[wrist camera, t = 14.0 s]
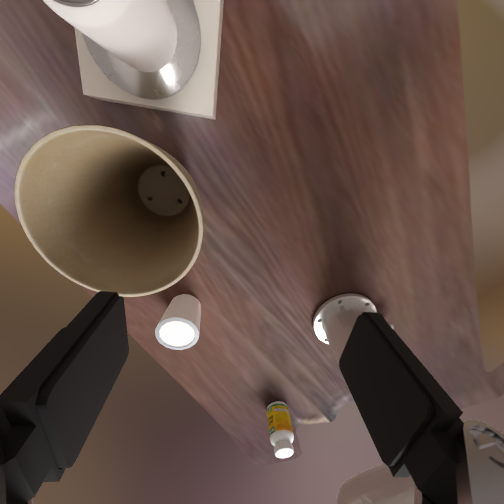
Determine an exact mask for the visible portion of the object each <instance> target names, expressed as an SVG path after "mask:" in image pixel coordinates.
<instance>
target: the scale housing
mask: <svg viewBox="0 0 504 504" xmlns="http://www.w3.org/2000/svg"><path fill="white" fill-rule="evenodd" d="M193 2H194V5H195V8H196V12H197V15H198V19H199V24H200V30H201V52H200V58H199V62H198V65H197V68H196V71H195V73H194V75H193V77H192V78H191V80H190V81H189V83H188V84H187V85H186V86H185V87H184V88H183V89H182V90H181V91H180V92H178V93H177V94H175V95H173V96H171V97H168V98H165V99H160V100H150V99H144V98H140V97H137V96H135V95H132V94H130V93H128V92H126V91H124V90H122V89H121V88H120V87H118V86H117V85H115V84H114V83H113V82H112V81H111V80H110V79H108V77H107V76H106V75H105V74H104V73H103V72H102V71H101V69H100V68H99V67H98V66H97V64H96V63H95V61H94V59H93V58H92V56H91V54H90V52H89V50H88V48H87V46H86V43H85V41H84V38H83V35H82V32H81V31H79V30H78V29H76V28H75V27H74V29H75V36H76V43H77V51H78V59H79V66H80V74H81V82H82V89H83V95H87V96H90V97H93V98H96V99H100V100H103V101H109V102H115V103H121V104H127V105H133V106H139V107H144V108H150V109H156V110H162V111H168V112H174V113H180V114H185V115H191V116H197V117H203V118H209V119H215V118H216V104H217V90H218V75H219V61H220V47H221V33H222V19H223V5H224V0H193Z"/></svg>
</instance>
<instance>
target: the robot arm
mask: <svg viewBox="0 0 504 504" xmlns="http://www.w3.org/2000/svg"><path fill="white" fill-rule="evenodd" d="M393 328H394V326H393V324H392V323H387V322H386V320H385V319H384V318H383V317H382V316H381V315H380V314H379V313H377V309H376V307H375V305H374V304H373V303H372V302H371V301H370V300H369V299H368V298H367V297H365V296H363V295H359V294H353V293H349V294H342V295H338V296H335V297H333V298H331V299H329V300H328V301H326V302H325V303H324V304H322V305H321V306H320V308H319V309H318V310H317V312H316V313H315V316H314V318H313V329H314V331H315V334H316V335H317V337H318V338H319V339H320V340H321V341H322V342H324V343H326V344H329V345H330V348H331V350H332V352H333V354H334V356H335V358H336V361H337V363H338V365H339V367H340V370H341V372H342V374H343V377H344V379H345V381H346V383H347V385H348V388H349V390H350V392H351V394H352V396H353V398H354V401H355V402H356V405H357V407H358V409H359V411H360V413H361V416H362V418H363V420H364V422H365V424H366V427H367V429H368V431H369V433H370V435H371V438H372V440H373V442H374V444H375V446H376V448H377V451H378V452H379V455H380V457H381V459H382V461H383V462H384V463H382V464H380V465H378V466H376V467H373V468H371V469H368V470H366V471H364V472H362V473H360V474H357V475H355V476H353V477H352V478H350V479H348V480H346V481H345V482H344V483H343V484H342V485H341V487H340V488H339V490H338V493H337V499H336V504H504V434H502V433H501V432H500V431H498V430H496V429H495V428H493V427H492V426H490V425H488V424H486V423H484V422H482V421H478V420H474V419H470V420H466V421H465V422H464V423H463V422H462V421H461V419H460V418H459V417H460V416H461V414H462V413H463V412H462V411H461V410H460V409H459V407H458V406H457V405H456V404H455V403H454V401H453V400H452V399H451V398H450V397H449V395H448V394H447V393H446V392H445V391H444V390H443V388H442V387H441V386H440V385H439V384H438V382H437V381H436V380H435V379H434V378H433V376H432V375H431V374H430V373H429V372H428V370H427V369H426V368H425V367H424V366H423V364H422V363H421V362H420V361H419V360H418V359H417V357H416V356H415V355H414V354H413V353H412V351H411V350H410V349H409V348H408V347H407V345H406V344H405V343H404V342H403V341H402V339H401V338H400V337H399V336H398V335H397V333H396V332H395V331H394V330H393ZM128 351H129V346H128V337H127V327H126V317H125V307H124V299H123V297H121V296H119V294H118V293H117V292H108V291H99V292H98V293H97V294H96V295H95V296H94V297H93V298H92V299H91V300H90V301H89V303H88V304H87V305H86V306H85V307H84V308H83V309H82V310H81V311H80V312H79V314H78V315H77V316H76V317H75V318H74V319H73V320H72V321H71V322H70V323H69V325H68V326H67V327H65V328H63V329H61V330H60V331H59V332H58V333H57V334H56V335H55V337H54V338H53V339H52V340H51V341H50V342H49V343H48V344H47V345H46V346H45V347H44V348H43V349H42V350H41V352H40V353H39V354H38V355H37V356H36V357H35V358H34V359H33V360H32V361H31V362H30V363H29V365H28V366H27V367H26V368H25V369H24V370H23V371H22V372H21V373H20V374H19V375H18V376H17V377H16V379H15V380H14V381H13V382H12V383H11V384H10V385H9V386H8V387H7V389H5V390H4V391H3V393H2V394H1V395H0V504H32V498H33V497H35V495H36V493H37V491H38V490H39V488H40V486H41V484H42V483H43V482H57V481H60V479H61V477H62V474H63V473H64V471H65V469H66V468H70V467H71V466H72V465H73V464H74V463H75V461H76V459H77V457H78V455H79V453H80V451H81V449H82V447H83V445H84V443H85V441H86V439H87V437H88V435H89V433H90V431H91V429H92V427H93V425H94V423H95V421H96V419H97V417H98V415H99V413H100V411H101V409H102V407H103V405H104V403H105V401H106V399H107V397H108V395H109V393H110V391H111V389H112V387H113V385H114V383H115V381H116V379H117V377H118V375H119V373H120V371H121V369H122V367H123V365H124V363H125V361H126V359H127V356H128Z"/></svg>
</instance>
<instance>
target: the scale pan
mask: <svg viewBox="0 0 504 504" xmlns="http://www.w3.org/2000/svg"><path fill="white" fill-rule="evenodd" d="M167 2H168V4H169V6H170V9H171V11H172V14H173V17H174V20H175V24H176V29H177V44H176V49H175V52H174V55H173V57H172V59H171V60H170V62H169V63H168V64H167V65H166V66H165V67H164V68H162V69H160V70H158V71H155V72H143V71H139V70H136V69H134V68H132V67H131V66H129V65H127V64H126V63H124V62H123V61H122V60H120V59H119V58H117V57H116V56H114V55H113V54H112V53H110V52H109V51H107V50H106V49H104V48H103V47H102V46H100V45H99V44H97V43H96V42H95V41H93V40H92V39H90V38H89V37H88V36H86V35H85V34H83V33H82V35H83V38H84V41H85V43H86V46H87V48H88V50H89V52H90V54H91V56H92V58H93V59H94V61H95V63H96V64H97V66H98V67H99V68H100V69H101V71H102V72H103V73H104V74H105V75H106V76H107V77H108V79H110V80H111V81H112V82H113V83H114V84H115V85H117V86H118V87H120V88H121V89H122V90H124V91H126V92H128V93H130V94H132V95H135V96H137V97H140V98H144V99H150V100H160V99H165V98H168V97H171V96H173V95H175V94H177V93H178V92H180V91H181V90H182V89H183V88H184V87H185V86H186V85H187V84H188V83H189V81H190V80H191V78H192V77H193V75H194V73H195V71H196V68H197V65H198V62H199V58H200V52H201V30H200V24H199V19H198V15H197V12H196V8H195V5H194V2H193V0H167Z"/></svg>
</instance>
